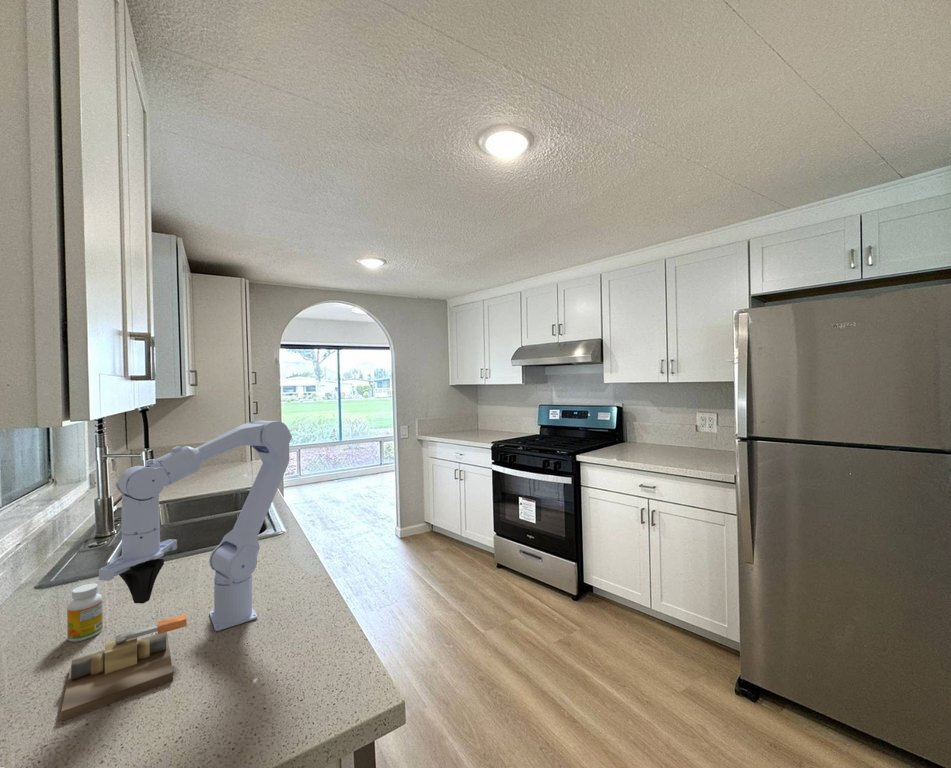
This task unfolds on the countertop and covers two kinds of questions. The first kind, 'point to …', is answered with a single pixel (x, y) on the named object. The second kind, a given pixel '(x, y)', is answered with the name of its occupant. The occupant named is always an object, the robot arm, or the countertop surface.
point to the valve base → (116, 673)
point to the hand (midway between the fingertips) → (141, 601)
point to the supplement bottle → (84, 613)
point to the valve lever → (155, 628)
